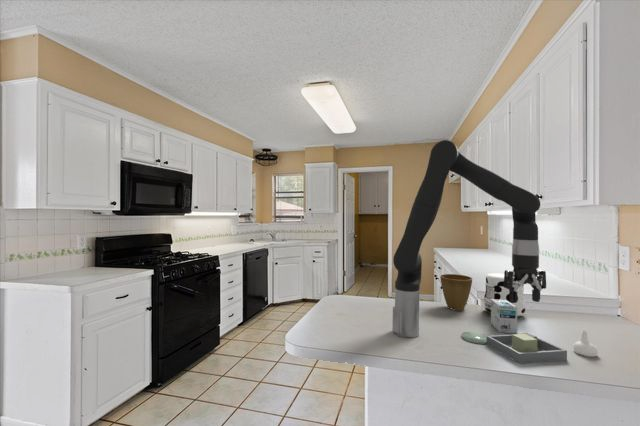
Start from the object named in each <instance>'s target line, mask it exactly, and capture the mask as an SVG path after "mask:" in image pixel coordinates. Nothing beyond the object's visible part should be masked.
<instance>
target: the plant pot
mask: <svg viewBox="0 0 640 426" xmlns="http://www.w3.org/2000/svg"><path fill="white" fill-rule="evenodd" d="M439 277H440V283H441V289H442V294H443V297H444V300H445V304H446V306H447V308H448V307H449V308H452V309H455V310H454V311H458V310H461V311H464V310H465V308H466V305H467V302H468V301H469V297H470V293H471V291H472V290H471V289H472V285H473V277H472V276H469V275H464V274H455V273H445V274H444V273H443V274H440V276H439ZM449 308H448V309H449ZM452 309H451V310H452Z"/></svg>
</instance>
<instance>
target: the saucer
mask: <svg viewBox="0 0 640 426" xmlns="http://www.w3.org/2000/svg"><path fill="white" fill-rule="evenodd" d="M487 336H488V335H487V334H485V333H482V332H478V331H464V332H461V338H462V339H463V340H464V341H467V342H469V343H473V344H477V345H478V344H479V345H487Z"/></svg>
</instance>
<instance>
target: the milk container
mask: <svg viewBox="0 0 640 426" xmlns="http://www.w3.org/2000/svg"><path fill="white" fill-rule="evenodd" d="M516 282H517V281H516ZM524 285H525V284H522V286H520V287H519V288H518V290H517V303H514V302H511V301H510V299H509V289H507V288H504V274H503V273H487V274H486V276H485V294H484V295H483V301H482V302H483V308H484V310H486V311H487V312H488V313H490V314H491V299H497V300H507V301H509V302H510V303H512V304H513V305H515V306H517V318H519V317H520V318H521V317H523V316H524V315H525V313H526V301H525V298H524V289H525V288H524Z"/></svg>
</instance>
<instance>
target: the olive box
mask: <svg viewBox="0 0 640 426" xmlns="http://www.w3.org/2000/svg"><path fill="white" fill-rule="evenodd" d="M511 335H512V344H511V348H512V349H514V350H516V351H518V352H520V353H522V352H537V351H538V347H537V339H535V338H533V337H531V336H529V335H526V334H520V333H511Z"/></svg>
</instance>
